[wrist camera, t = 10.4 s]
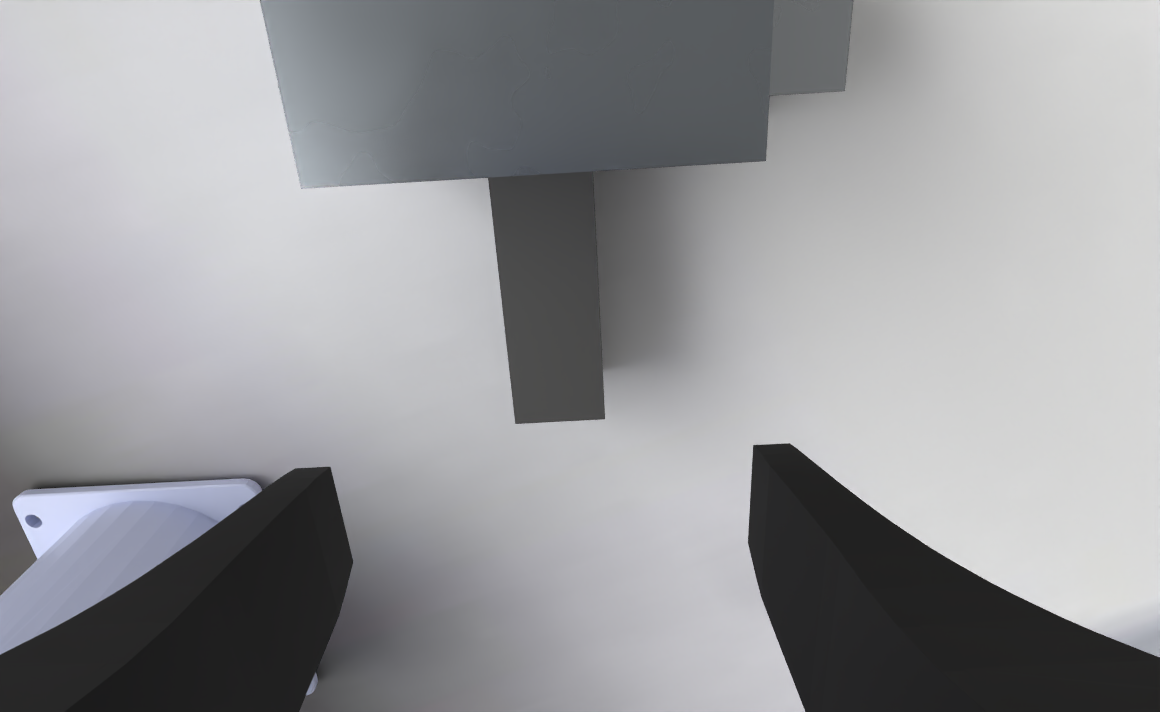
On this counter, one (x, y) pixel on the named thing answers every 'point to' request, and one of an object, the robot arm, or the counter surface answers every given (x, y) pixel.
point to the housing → (541, 83)
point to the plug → (550, 294)
